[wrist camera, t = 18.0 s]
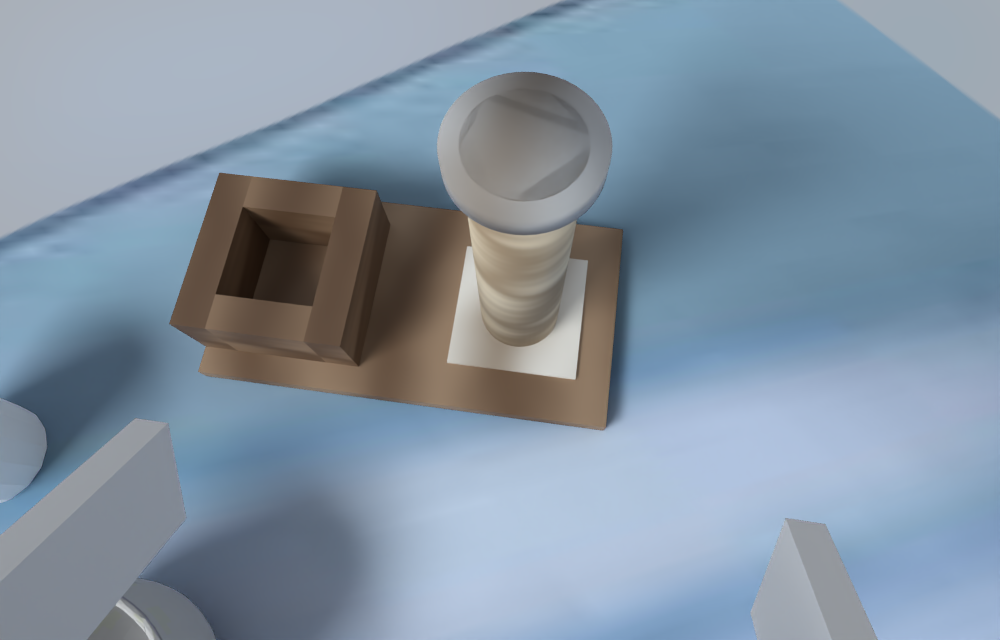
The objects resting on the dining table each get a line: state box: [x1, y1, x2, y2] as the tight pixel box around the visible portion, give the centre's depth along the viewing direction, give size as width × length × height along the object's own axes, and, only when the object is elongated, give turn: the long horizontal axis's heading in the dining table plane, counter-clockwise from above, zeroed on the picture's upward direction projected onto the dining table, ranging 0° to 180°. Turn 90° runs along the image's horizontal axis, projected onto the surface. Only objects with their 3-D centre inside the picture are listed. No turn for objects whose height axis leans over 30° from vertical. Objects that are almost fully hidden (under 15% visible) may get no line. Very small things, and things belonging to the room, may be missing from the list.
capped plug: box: [437, 72, 612, 347], centre depth 28 cm, size 6×6×16 cm
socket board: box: [169, 173, 623, 430], centre depth 35 cm, size 23×12×5 cm, turn 82°
